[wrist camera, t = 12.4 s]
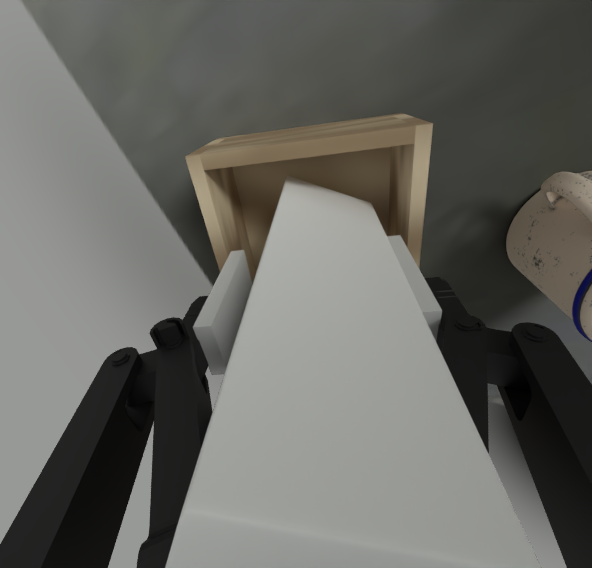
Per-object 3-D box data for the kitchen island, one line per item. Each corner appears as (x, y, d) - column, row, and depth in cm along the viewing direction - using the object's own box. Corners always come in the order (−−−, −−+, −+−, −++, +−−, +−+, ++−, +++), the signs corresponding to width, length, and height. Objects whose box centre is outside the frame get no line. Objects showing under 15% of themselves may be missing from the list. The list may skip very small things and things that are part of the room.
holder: (217, 138, 22) (185, 156, 16) (402, 112, 20) (433, 123, 15) (253, 287, 28) (239, 334, 23) (394, 276, 27) (413, 324, 22)
